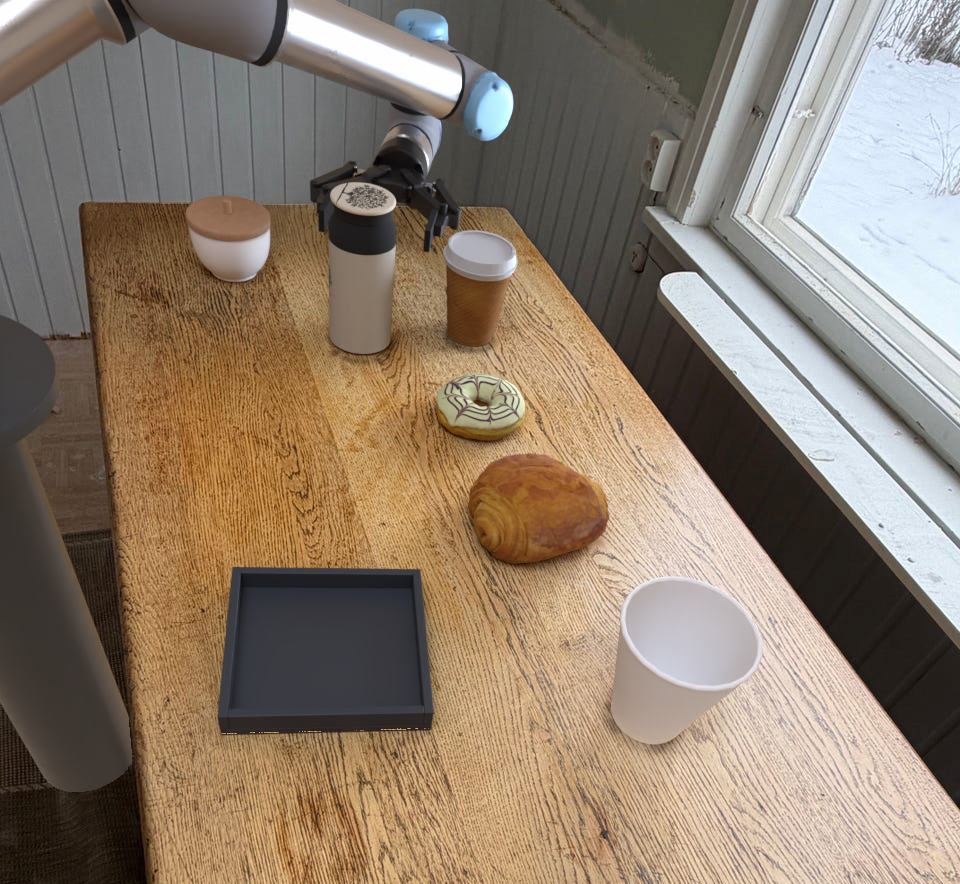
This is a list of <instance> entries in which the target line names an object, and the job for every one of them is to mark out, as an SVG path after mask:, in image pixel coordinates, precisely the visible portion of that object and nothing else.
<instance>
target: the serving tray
mask: <svg viewBox="0 0 960 884" xmlns="http://www.w3.org/2000/svg"><path fill="white" fill-rule="evenodd" d="M230 577H231V578H230V587H229V597H228V607H227V617H226V619H227V620H226V625H225V626H226V627H225V638H224V647H223V657H222V667H221V668H222V669H221V675H220V677H221V678H220V685H219V686H220V687H219V695H218V696H219V697H218V706H217V715H216V718H217V722H218V726H219V731H220V735H221V736H230V735H231V736H232V735H233V736H234V735H237V736H238V735H270V734H271V735H274V734H275V735H276V734H279V735H280V734H313V733H314V734H318V733H320V734H321V733H322V734H323V733H357V732H359V733H360V732H397V731H398V732H399V731H401V732H403V731H430V730H432V726H433V725H432V724H433V721H434V720H433V719H434V712H435V710H434V700H433V690H432V679H431V677H432V676H431V669H430V657H429V646H428V636H427V635H428V634H427V625H426V624H427V623H426V615H425V603H424V592H423V591H424V590H423V582H422V581H423V580H422V570H421V569H420V568H367V567H366V568H365V567H364V568H363V567H361V568H358V567H346V568H345V567H283V566H282V567H281V566H279V567H275V566H271V567H270V566H232V567H231V576H230ZM397 728H398V729H400V728H401V729H406V730H381V729H397ZM407 728H411V729H407ZM415 728H418V729H415ZM424 728H426V729H424ZM428 728H429V729H428ZM430 728H431V729H430ZM356 730H357V731H356ZM360 730H364V731H360ZM299 731H300V732H299ZM302 731H303V732H302ZM304 731H306V732H304ZM307 731H321V732H307ZM250 732H255V733H250ZM259 732H260V733H259ZM261 732H263V733H261ZM264 732H279V733H264ZM221 733H226V734H221ZM227 733H237V734H227Z"/></svg>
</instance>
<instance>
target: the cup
mask: <svg viewBox="0 0 960 884" xmlns="http://www.w3.org/2000/svg"><path fill="white" fill-rule="evenodd" d="M760 633H761V632H760V630H759V627H758V625H757V623H756V622H755V621H754V619H753V617H752V616H751V614H750V612H749V611H747V609H746V608H745V607H744V606H743V605H741V604H740V602H739V601H738V600H737V599H735V598H734V597H733V596H731V595H730V594H729V593H726V592H725V591H724V590H723V589H721V588H718V587H716V586H715V585H712V584H709V583H708V582H706V581H702V580H698V579H695V578H691V577H687V576H673V575H671V576H670V575H669V576H661V577H654V578H651V579H649V580H646V581H644V582H642V583H639V584H638V585H637V586H636V587H634V588H633V589H632V590H631V591H629V593H628V594H627V595H626V597H625V599H624V601H623V603H622V604H621V606H620V614H619V631H618V641H617V648H616V649H617V650H616V658H615V659H616V660H615V667H614V675H613V684H612V692H611V702H610V712H611V717H612V718H613V720H614V724H616V726H617V727H618V728H619V730H620V731H621V732H622V733H624V734H625V735H626V736H627V737H628V738H630V739H632V740H634V741H636V742H638V743H642V744H646V745H654V746H655V745H656V746H657V745H662V744H667V743H669V742H670V741H672V740H674V739H676V737H677V736H678V735H680V734H682V733H683V732H684V731H686V729H688V728H689V727H690V726H691V725H693V724H694V723H695V722H696V721H697V720H699V719H700V718H701V717H702V716H704V715H705V714H706V713H708V712H709V711H710V710H711V709H712V708H714V707H715V706H716V705H717V704H718V703H720V702H721V701H722V700H724V699H725V698H726V697H727V696H728V695H730V694H731V693H733V692H734V691H735V690H736V689H737V688H739V686H741V685H743V684H745V683H746V682H748V681H749V680H750V679H751V678H752V677H753V676H754V674H755V673H756V672H757V671H758V669H759V667H760V664H761V661H762V659H763V639H762V636H761V634H760Z"/></svg>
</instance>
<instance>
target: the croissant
mask: <svg viewBox="0 0 960 884" xmlns="http://www.w3.org/2000/svg"><path fill="white" fill-rule="evenodd" d="M468 495H469V500H468V503H467V509H468V510H469V511H470V516H471V519H472V520H473V521H472V523H473V528H474V529H473V530H474V533H475V534H476V537H477V539H478V540H479V541H480V544H481V546H483V547H484V548H486V550H487V551H489V553H490V554H492V556H493V558H496V559H498V560H500V561H502V562H505V563H508V564H512V565H516V564H523V563H525V564H529V563H536V562H539V561H545V560H549V559H552V558H554V557H557V556H561V555H564V554H567V553H569V552H574V551H577V550H580V549H583V548H585V547H587V546H589V545H590V544H592V543H593V542H595V541H596V540H598V539H599V538H600V537H602V535H603V534H605V532H606V529H607V525H608V521H609V519H610V512H609V508H608V507H609V505H608V497H607V495H606V493H605V491H604V489H603V488H602V486H601V485H600V483H598V482H596V481H593V480H592V479H591V478H590V477H588V475H585V474H584V473H581V472H578V471H576V470H574V468H573V469H572V467H569V466H567V465H565V464H564V462H562V461H560V460H558V459H556V458H553V457H551V456H549V455H547V454H543V453H542V454H539V453H538V454H537V453H530V452H529V453H519V454H518V453H517V454H515V453H514V454H510V455H505V456H503V457H501V458H499V459H496V460H493V461H492V462H490V463H489V464H487V466H486V467H485V469H484V470H483V471H482V472H481V473H479V475H478V477H477V479H476V480H474V481H473V483H472V486H471V487H470V489H469V494H468Z"/></svg>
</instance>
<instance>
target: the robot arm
mask: <svg viewBox="0 0 960 884" xmlns="http://www.w3.org/2000/svg"><path fill="white" fill-rule="evenodd" d="M150 29H153V30H154V31H156V32H157V33H159V34H161V35H163V36H165V37H166V38H169V39H170V40H173V41H176V42H178V43H181V44H184V45H187V46H190V47H193V48H197V49H201V50H205V51H208V52H212V53H215V54H219V55H222V56H224V57H229V58H232V59H235V60H238V61H241V62H245V63H249V64H250V65H254V66H257V67H259V68H266V67H268V66H271V65H272V64H273V63H274V62H277V63H279V64H283V65H285V66H288V67H291V68H293V69H297V70H299V71H303V72H305V73H308V74H310V75H313V76H317V77H319V78H321V79H324V80H328V81H331V82H333V83H335V84H339V85H341V86H345V87H347V88H350V89H352V90H356V91H358V92H362V93H364V94H367V95H369V96H373V97H376V98H378V99H381V100H384V101H387V102H389V119H388V121H389V122H388V131H387V133H386V135H385V137H384V139H383V141H382V143H381V145H380V146H379V149H378V151H377V152H376V156H375V157H374V160H373V162H372V164H371V166H370V167H367V168H366V169H362V168H358V167H359V166H357V162H356V161H355V160H348V161H347V162H346V163H345V164H344V165H343V166H340V167H339V168H336V169H333V170H331V171H328V172H326V173H324V174H322V175H319V176H317V177H314V178H313V179H311V180H310V181H309V193H310V194H309V196H310V197H309V199H310V200H309V201H310V202H312V203H313V204H315V203H316V213H317V214H318V215H317V217H318V218H317V219H318V220H317V221H318V232H320V233H325V232H326V230H327V228H328V221H329V219H330V217H331V215H332V213H333V211H334V206H333V202H332V201H331V198H330V193H331V191H332V190H333V189H334V188H335V187H336V186H338V185H341V184H344V183H352V182H361V183H369V184H373V185H377V186H380V187H382V188H384V189H386V190H388V191H389V192H391V193H392V194H393V195H394V197H395V199H396V203H400V204H404V205H406V206H407V207H408V208H409V209H410V210H415V211H417V212H418V213H419V214H420V215H421V216H423V217H424V218H425V219H426V220H427V223H426V225H425V228H424V237H423V247H422V252H425V253H430V250H431V247H432V244H433V241H434V238H435V237H436V238H441V237H443V235H444V232H445V229H446V227H449V229H451V230H453V231H458V230H459V229H460V224H461V217H462V216H461V215H462V209H461V207H460V206H459V205H458V203H457V201H456V200H455V199H454V198H453V196H452V194H451V193H450V192H449V190H448V189H447V187H446V186H445V185H446V180H445V179H444V178H441V177H439V178H436V179H435V181H432V182H427V181H426V180H427V179H428V178H427V177H428V174H429V172H430V169H431V167H432V164H433V160H434V158H435V156H436V154H437V153H438V150H439V148H440V145H441V140H442V130H443V129H442V122H444V123H446V124H448V125H452V126H455V127H457V128H459V129H461V130H463V131H464V132H465V134H466V135H467V136H470V137H473V138H474V139H477V140H479V141H482V142H488V141H492V140H494V139H496V138H498V137H499V136H500V135H501V134H502V133H503V132H504V131H505V130H506V128H507V126H508V124H509V121H510V119H511V117H512V114H513V110H514V95H513V92H512V89H511V87H510V85H509V84H508V83H507V82H506V81H505V80H504V79H503V78H501V77H500V76H499V75H498V74H497V73H496V72H495V71H491V70H489V69H487V68H485V67H484V66H482V65H481V64H479V63H478V62H476V61H475V60H473V59H471V58H469V57H468V56H466V55H465V54H463V53H462V52H460V51H459V50H457V49H455V48H454V47H453V46H451V45H449V44H448V43H449V24H448V22H447V19H446V18H445V17H444V16H443V15H441V14H440V13H437V12H435V11H432V10H427V9H422V8H406V9H403V10H401V11H399V12H398V13H397V14H396V16H395V19H394V25H391V24H389V23H387V22H384V21H382V20H380V19H377V18H375V17H373V16H370V15H368V14H367V13H364V12H362V11H360V10H357V9H356V8H353V7H351V6H348V5H346V4H344V3H341V2H339V1H337V0H0V107H2V106H3V105H4V104H6V103H8V102H9V101H11V100H12V99H14V98H15V97H17V96H18V95H20V94H21V93H23V92H24V91H26V90H27V89H29V88H30V87H32V86H33V85H35V84H37V83H38V82H39V81H41V80H42V79H44V78H46V77H47V76H48V75H50V74H52V73H53V72H54V71H56V70H58V69H59V68H60V67H62V66H64V65H65V64H66V63H68V62H69V61H71V60H72V59H74V58H75V57H77V56H78V55H79V54H81V53H83V52H85V51H86V50H87V49H88V48H91V47H92V46H94V45H95V44H96V43H98V42H99V41H107V42H109V43H113V44H116V45H118V46H122V47H123V46H125V45H127V44H128V43H130V42H131V41H133V40H134V39H136V38H138V37H139V36H140V35H142V34H143V33H145V32H146V31H148V30H150Z"/></svg>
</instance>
